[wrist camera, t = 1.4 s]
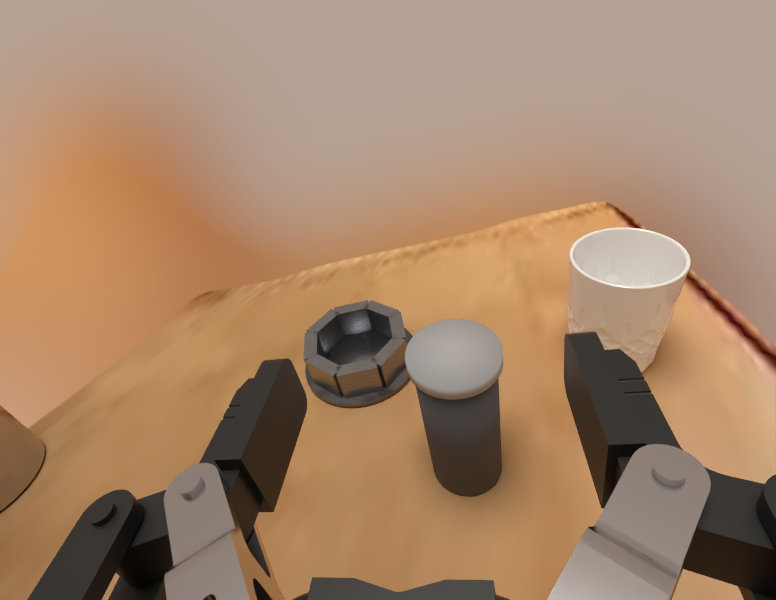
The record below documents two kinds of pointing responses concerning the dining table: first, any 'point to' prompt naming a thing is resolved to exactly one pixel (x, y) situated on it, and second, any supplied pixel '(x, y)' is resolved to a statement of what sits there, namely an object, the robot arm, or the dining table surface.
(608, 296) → the white cup
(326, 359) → the octagonal ring holder
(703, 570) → the robot arm
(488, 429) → the white-topped grey cylinder
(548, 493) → the dining table surface
